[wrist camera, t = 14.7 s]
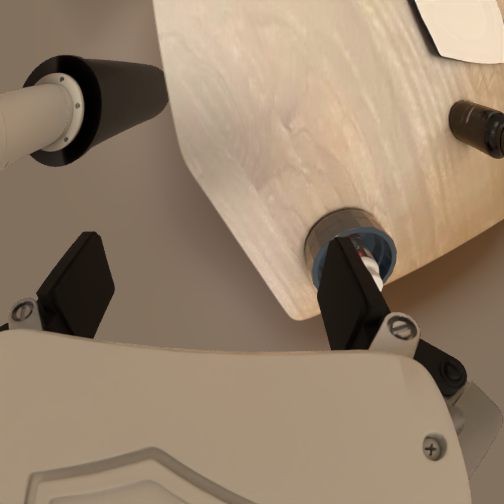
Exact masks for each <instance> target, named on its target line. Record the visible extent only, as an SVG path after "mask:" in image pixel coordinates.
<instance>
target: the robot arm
mask: <svg viewBox="0 0 504 504" xmlns="http://www.w3.org/2000/svg"><path fill="white" fill-rule="evenodd" d="M79 105H80V106H79ZM84 114H85V100H84V95H83V92H82V89H81V87H80V85H79V84H78V82H77V81H76V80H75V79H74V78H73V77H71V76H70V75H68V74H64V73H53V74H49V75H46V76H44V77H43V78H41V79H40V80H39V81H38V82H37V83H35V85H34V86H32V87H26V88H21V89H17V90H12V91H8V92H4V93H0V171H1V170H2V169H4V168H6V167H7V166H9V165H11V164H13V163H14V162H16V161H18V160H20V159H21V158H23V157H25V156H27V155H29V154H31V153H33V152H35V151H37V150H39V149H41V150H43V151H48V152H51V151H57V150H60V149H62V148H64V147H66V146H67V145H68V144H70V143H71V142H72V141H73V140H74V139H75V137H76V136H77V134H78V133H79V131H80V128H81V126H82V123H83V120H84ZM114 290H115V287H114V282H113V279H112V276H111V272H110V269H109V265H108V262H107V258H106V255H105V251H104V247H103V243H102V240H101V237H100V235H98V234H97V233H96V232H83V233H82V234H81V235H80V236H79V237H78V239H77V240H76V241H75V242H74V243H73V244H72V246H71V247H70V248H69V249H68V251H67V252H66V253H65V254H64V256H63V257H62V258H61V260H60V261H59V262H58V263H57V265H56V266H55V267H54V269H53V270H52V271H51V273H50V274H49V276H48V277H47V278H46V280H45V281H44V282H43V284H42V285H41V287H40V288H39V290H38V291H37V293H36V294H37V296H38V300H37V302H36V301H35V300H34V299H32V298H25V299H22V300H20V301H18V302H17V303H16V304H15V305H14V306H13V307H12V308H11V309H10V312H9V315H8V323H6V324H4V325H3V326H1V327H0V504H472V501H471V494H470V487H469V482H468V481H469V479H470V478H471V476H472V475H473V473H474V472H475V471H476V469H477V468H478V466H479V464H480V463H481V461H482V460H483V458H484V457H485V455H486V454H487V452H488V450H489V449H490V447H491V445H492V443H493V442H494V440H495V438H496V436H497V434H498V433H499V431H500V429H501V427H502V424H503V415H502V412H501V410H500V409H499V407H498V406H497V405H496V404H495V403H494V402H493V401H492V400H491V399H490V398H489V397H488V396H487V395H486V394H485V393H484V392H483V391H482V390H481V389H480V388H479V387H478V386H477V385H476V384H475V383H474V382H473V381H471V382H470V383H469V382H468V381H467V374H466V370H465V368H464V366H463V365H462V364H461V362H460V361H458V360H457V359H455V358H454V357H452V356H450V355H448V354H447V353H445V352H443V351H441V350H439V349H438V348H436V347H434V346H432V345H431V344H429V343H427V342H425V341H424V340H422V339H420V335H421V330H420V327H419V325H418V324H417V322H416V321H415V320H414V319H413V318H412V317H410V316H408V315H406V314H404V313H399V312H394V313H391V312H390V310H389V308H388V306H387V304H386V302H385V300H384V298H383V296H382V294H381V292H380V290H379V288H378V286H377V284H376V282H375V281H374V279H373V277H372V275H371V273H370V272H369V270H367V268H366V266H365V264H364V262H363V261H362V259H361V257H360V255H359V253H358V252H357V250H356V248H355V246H354V245H353V243H352V241H351V239H350V238H349V237H335V238H334V240H330V241H329V245H328V249H327V254H326V258H325V263H324V267H323V271H322V275H321V280H320V284H319V288H318V292H317V299H318V303H319V307H320V310H321V314H322V318H323V321H324V325H325V329H326V332H327V336H328V340H329V344H330V348H331V351H305V352H303V351H302V352H232V351H208V350H190V349H176V348H164V347H153V346H143V345H134V344H125V343H117V342H110V341H103V340H96V339H93V338H94V336H95V333H96V331H97V329H98V327H99V324H100V322H101V320H102V318H103V315H104V313H105V311H106V309H107V307H108V305H109V302H110V300H111V298H112V296H113V294H114Z"/></svg>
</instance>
